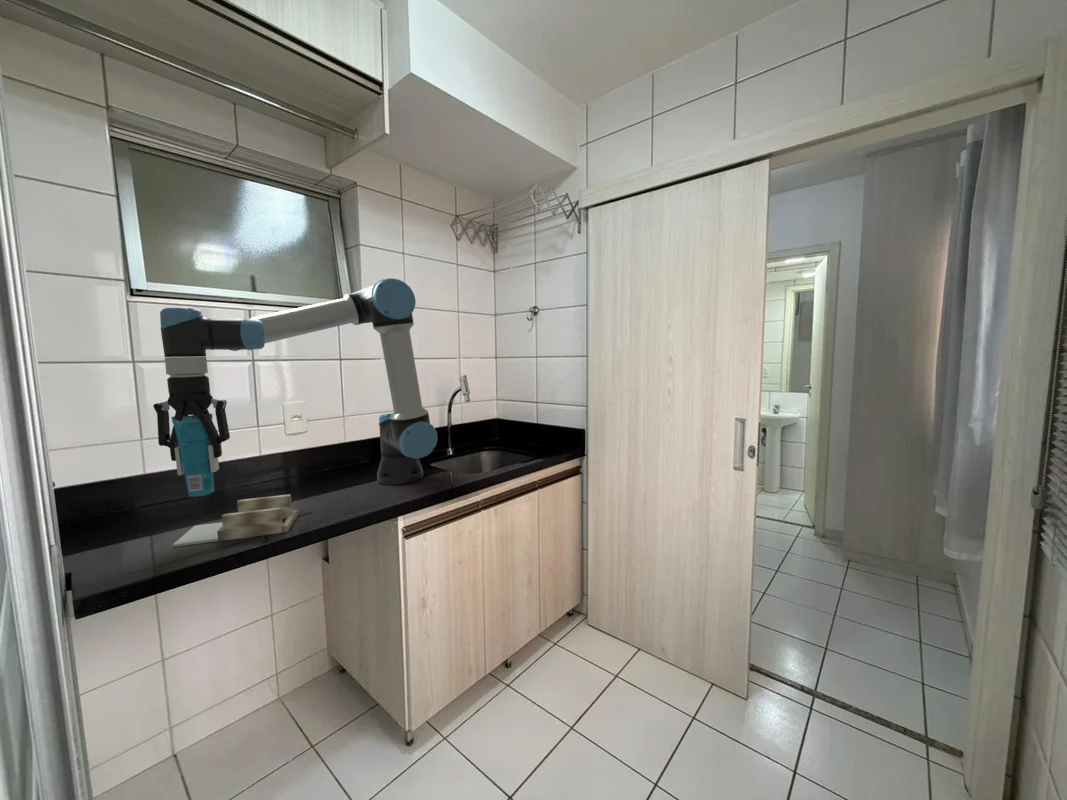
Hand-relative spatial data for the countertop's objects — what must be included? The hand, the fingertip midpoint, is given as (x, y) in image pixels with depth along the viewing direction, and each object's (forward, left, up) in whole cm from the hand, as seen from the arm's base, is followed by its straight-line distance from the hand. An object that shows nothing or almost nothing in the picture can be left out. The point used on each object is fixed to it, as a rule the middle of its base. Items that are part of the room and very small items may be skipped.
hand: (198, 472), depth 100 cm
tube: (0, 0, -6) cm, 6 cm away
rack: (-12, 0, -16) cm, 19 cm away
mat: (0, 0, -16) cm, 16 cm away
